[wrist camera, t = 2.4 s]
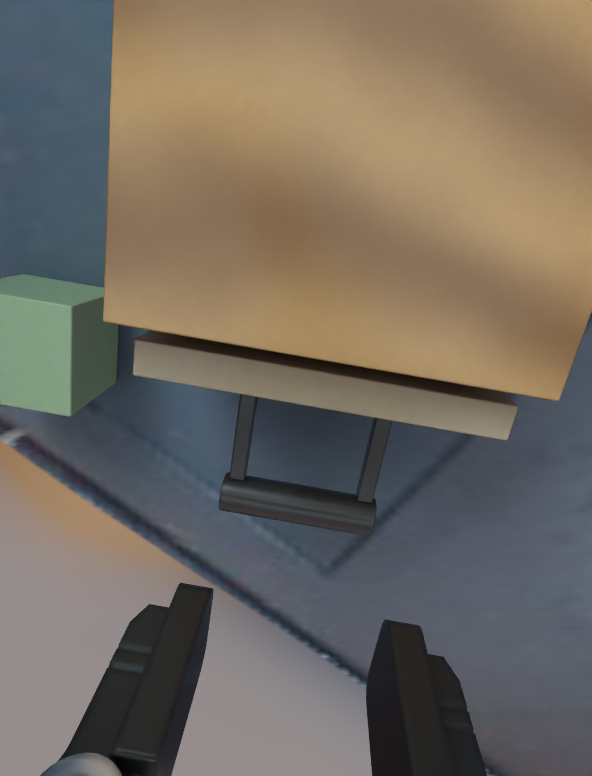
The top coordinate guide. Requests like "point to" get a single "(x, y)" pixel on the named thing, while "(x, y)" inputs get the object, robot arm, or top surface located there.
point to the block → (54, 344)
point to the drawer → (322, 390)
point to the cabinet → (357, 182)
